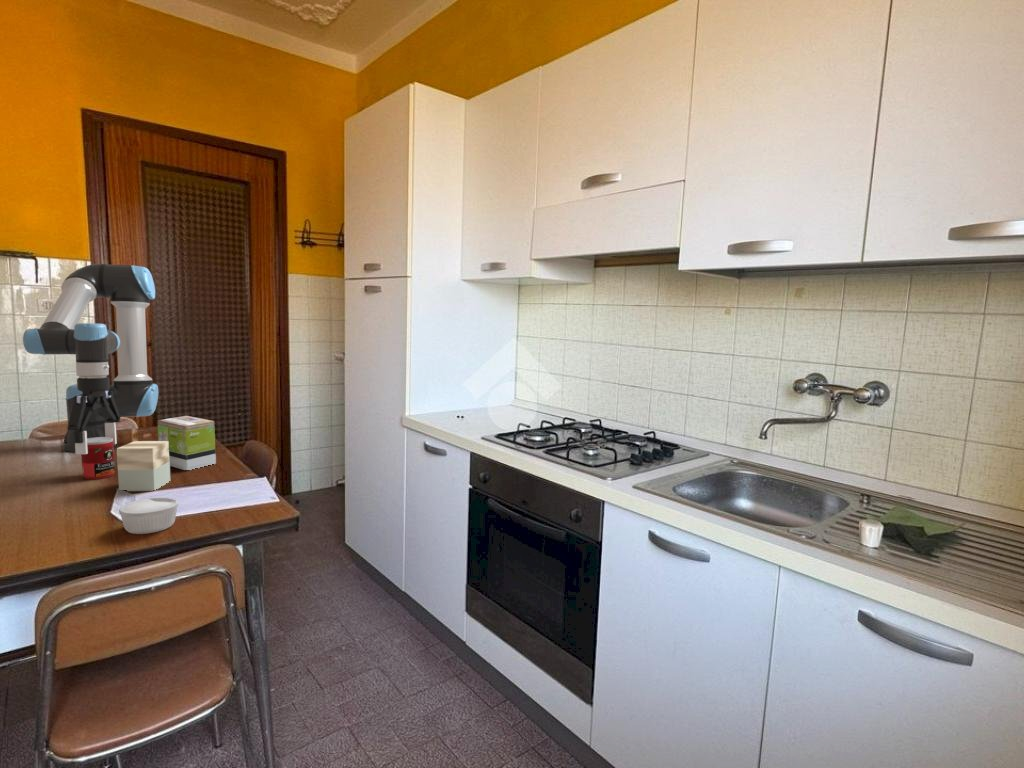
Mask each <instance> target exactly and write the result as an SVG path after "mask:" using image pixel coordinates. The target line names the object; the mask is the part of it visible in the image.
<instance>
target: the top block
mask: <svg viewBox="0 0 1024 768" xmlns="http://www.w3.org/2000/svg"><path fill="white" fill-rule="evenodd" d="M116 459H117V460H116V462H117V471H118V470H154V469H156V468H158V467H160V466H162V465H164V464H166V463H167V462H169V441H159V440H141V441H140V440H134V441H131V442H129V443H127V444H124V445H122V446H119V447H117V448H116Z"/></svg>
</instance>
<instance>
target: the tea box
mask: <svg viewBox="0 0 1024 768" xmlns="http://www.w3.org/2000/svg"><path fill="white" fill-rule="evenodd" d="M215 430H216V428H215V420H210V419H205V418H200V417H195V416H189V415H183V416H178V417H177V416H176V417H170V418H165V419H157V438H158V440H157V441H169V462H170V467H172V468H176V469H179V470H183V471H185V470H190V471H193V470H192V469H194V470H196V469H195V468H198V469H201V468H200V467H203V468H205V467H204V466H207V467H209V466H208V465H211V466H213V465H212V464H214V465H217V455H216V434H215Z"/></svg>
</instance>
